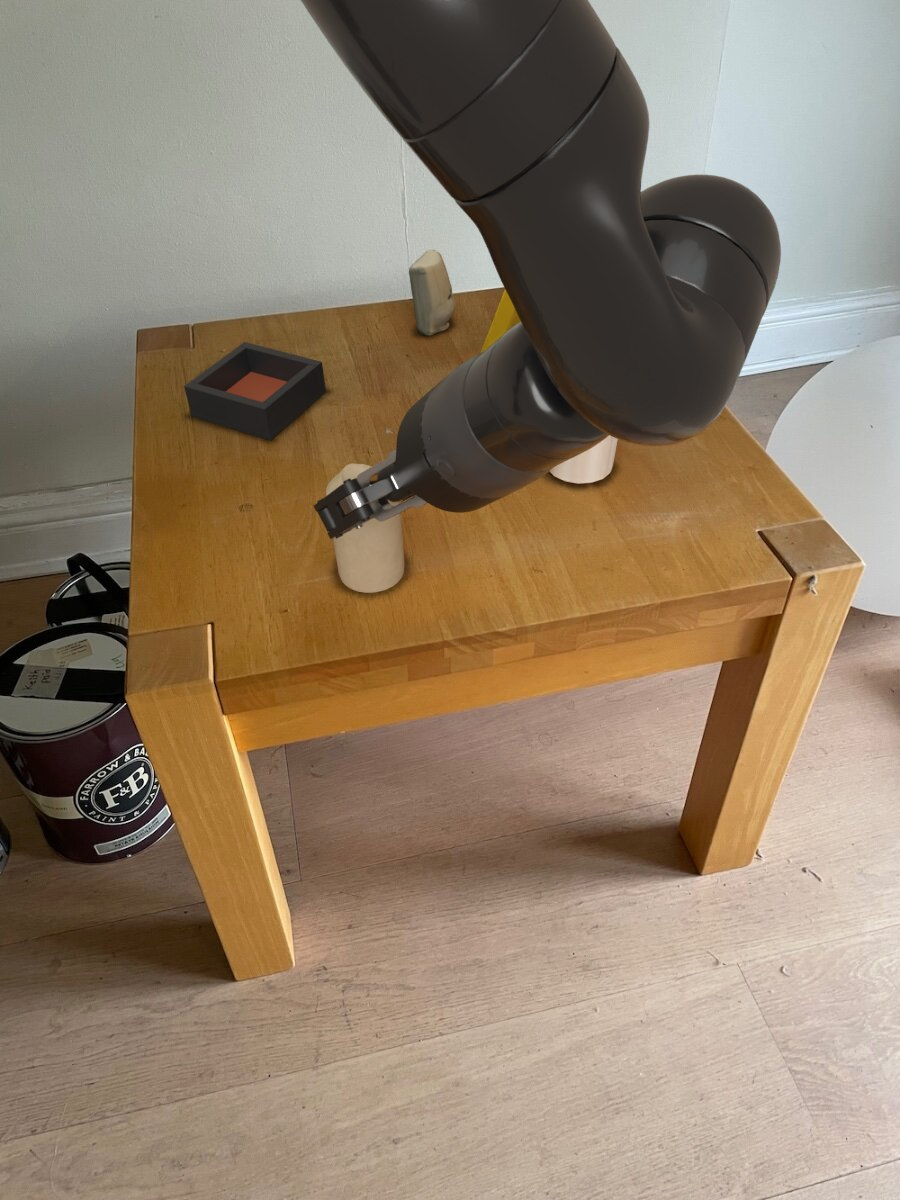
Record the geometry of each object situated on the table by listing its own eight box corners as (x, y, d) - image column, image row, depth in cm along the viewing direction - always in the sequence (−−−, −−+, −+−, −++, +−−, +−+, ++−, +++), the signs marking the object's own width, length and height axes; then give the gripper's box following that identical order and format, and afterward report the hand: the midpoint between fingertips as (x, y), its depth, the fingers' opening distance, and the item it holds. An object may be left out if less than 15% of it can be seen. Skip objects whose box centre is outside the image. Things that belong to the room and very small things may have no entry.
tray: (270, 440, 88) (264, 409, 85) (191, 416, 91) (183, 385, 89) (326, 392, 94) (322, 361, 92) (250, 371, 98) (244, 341, 95)
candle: (417, 563, 74) (411, 465, 67) (379, 602, 71) (368, 503, 64) (364, 541, 76) (353, 444, 70) (325, 578, 73) (308, 480, 66)
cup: (640, 470, 83) (662, 328, 73) (576, 504, 79) (590, 360, 69) (580, 432, 87) (593, 294, 77) (517, 463, 84) (522, 322, 74)
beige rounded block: (405, 316, 106) (401, 250, 100) (447, 310, 107) (445, 244, 101) (415, 338, 102) (411, 271, 96) (459, 332, 103) (458, 264, 97)
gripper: (550, 332, 53) (441, 416, 68) (348, 416, 47) (277, 488, 62) (604, 446, 54) (484, 504, 68) (412, 543, 48) (326, 584, 62)
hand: (386, 496), depth 65 cm, fingers open, 8 cm apart
